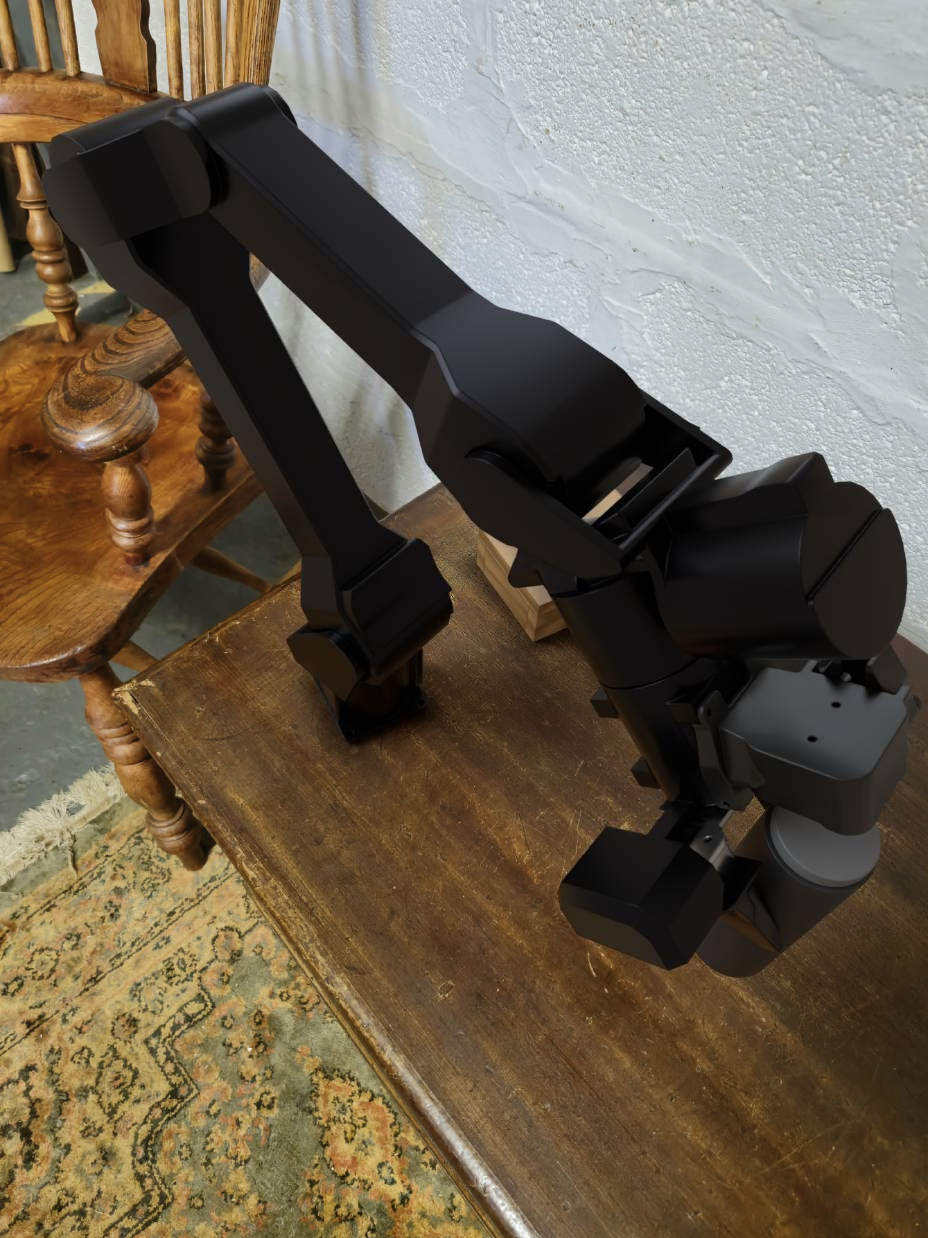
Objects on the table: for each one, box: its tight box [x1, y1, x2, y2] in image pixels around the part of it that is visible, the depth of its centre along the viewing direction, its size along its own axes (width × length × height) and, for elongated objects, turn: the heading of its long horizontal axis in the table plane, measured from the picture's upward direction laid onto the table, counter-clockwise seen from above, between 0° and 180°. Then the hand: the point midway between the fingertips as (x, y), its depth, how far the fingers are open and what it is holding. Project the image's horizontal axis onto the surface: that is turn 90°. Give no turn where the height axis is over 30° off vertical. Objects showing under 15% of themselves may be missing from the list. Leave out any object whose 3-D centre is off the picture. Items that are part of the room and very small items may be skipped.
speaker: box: [695, 804, 882, 979], centre depth 41 cm, size 5×5×14 cm
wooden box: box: [476, 488, 623, 643], centre depth 67 cm, size 12×9×4 cm
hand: (798, 907), depth 41 cm, fingers closed on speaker, 5 cm apart
